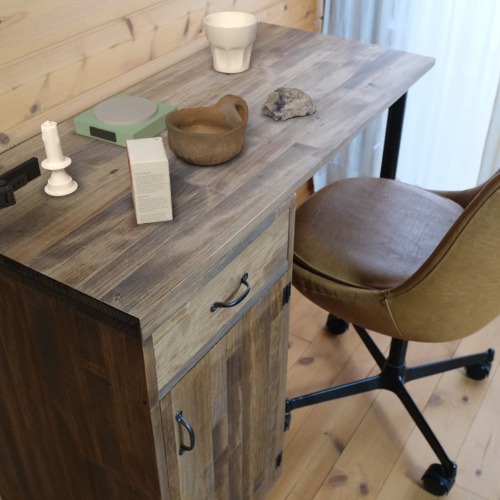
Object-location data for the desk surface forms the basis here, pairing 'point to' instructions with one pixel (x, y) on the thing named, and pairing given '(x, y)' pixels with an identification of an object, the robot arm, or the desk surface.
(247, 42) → the cup
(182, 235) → the desk surface
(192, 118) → the bowl
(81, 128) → the scale
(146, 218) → the small box
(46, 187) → the candle
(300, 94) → the mineral specimen
